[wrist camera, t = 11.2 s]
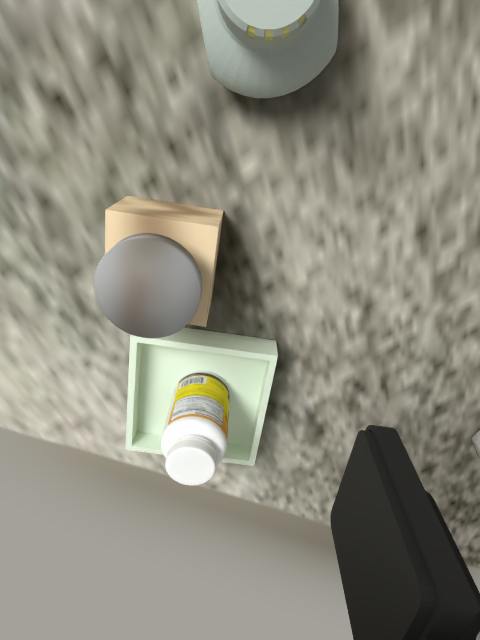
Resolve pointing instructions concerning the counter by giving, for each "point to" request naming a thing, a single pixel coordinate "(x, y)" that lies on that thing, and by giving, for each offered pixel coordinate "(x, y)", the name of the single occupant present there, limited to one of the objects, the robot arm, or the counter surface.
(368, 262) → the counter surface
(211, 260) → the tan box with knob
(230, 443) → the tray
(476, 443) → the flask
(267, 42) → the air freshener
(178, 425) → the supplement bottle
